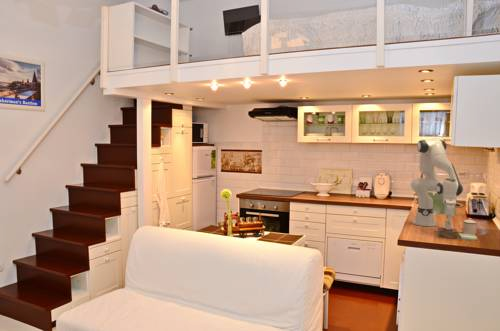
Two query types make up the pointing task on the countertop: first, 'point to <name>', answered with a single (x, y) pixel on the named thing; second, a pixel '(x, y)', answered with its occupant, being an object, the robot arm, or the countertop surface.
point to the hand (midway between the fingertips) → (448, 219)
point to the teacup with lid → (469, 226)
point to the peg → (448, 225)
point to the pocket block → (447, 233)
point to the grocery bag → (438, 203)
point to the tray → (467, 237)
